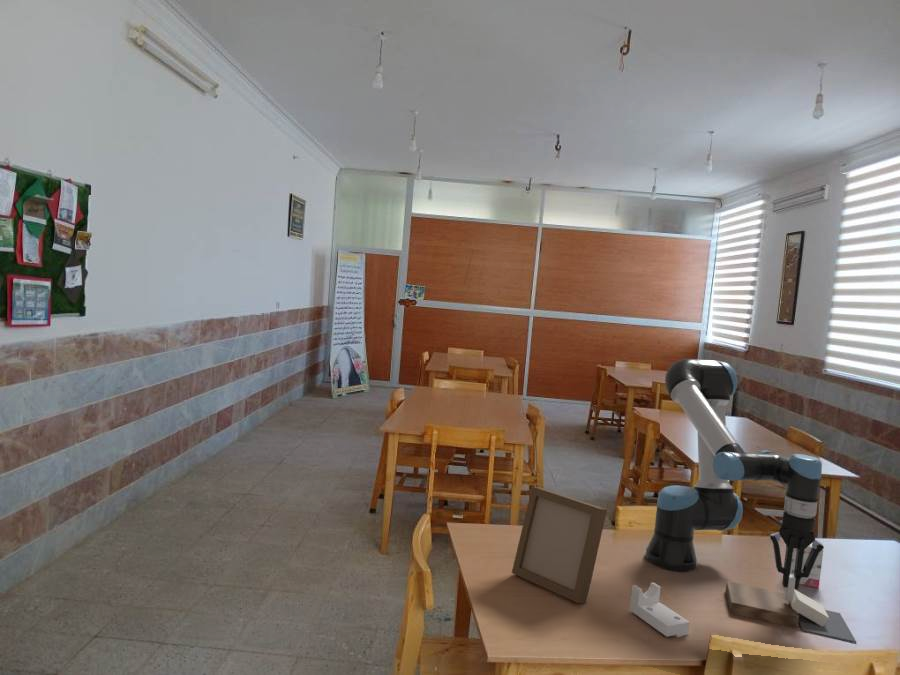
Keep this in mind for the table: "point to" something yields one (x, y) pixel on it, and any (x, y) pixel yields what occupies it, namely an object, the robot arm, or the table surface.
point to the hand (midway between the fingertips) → (788, 599)
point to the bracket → (657, 612)
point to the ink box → (816, 569)
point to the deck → (760, 604)
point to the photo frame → (559, 543)
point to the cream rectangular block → (809, 608)
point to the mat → (828, 627)
